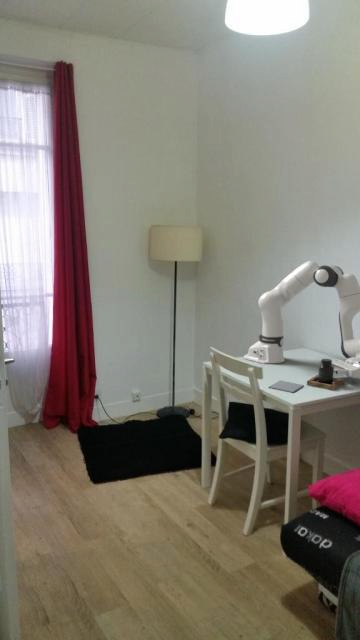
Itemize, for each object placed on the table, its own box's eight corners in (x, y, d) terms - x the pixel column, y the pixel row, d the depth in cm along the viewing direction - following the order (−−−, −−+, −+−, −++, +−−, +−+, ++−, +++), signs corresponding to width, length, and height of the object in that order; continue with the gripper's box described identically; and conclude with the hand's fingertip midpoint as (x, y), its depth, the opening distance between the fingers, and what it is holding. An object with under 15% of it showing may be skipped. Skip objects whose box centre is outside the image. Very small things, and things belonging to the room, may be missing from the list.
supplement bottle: (334, 386, 250) (336, 361, 248) (320, 386, 249) (322, 362, 247) (329, 381, 257) (331, 357, 254) (315, 382, 256) (317, 358, 254)
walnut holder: (306, 385, 252) (307, 381, 251) (317, 378, 262) (317, 374, 262) (333, 390, 244) (333, 386, 244) (343, 383, 254) (343, 379, 254)
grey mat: (268, 387, 248) (268, 386, 247) (280, 381, 257) (280, 380, 257) (292, 393, 241) (292, 391, 240) (303, 386, 250) (303, 385, 250)
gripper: (339, 355, 267) (316, 357, 261) (368, 365, 249) (345, 368, 243) (338, 367, 268) (316, 370, 263) (367, 378, 250) (344, 382, 244)
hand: (330, 369), depth 253 cm, fingers open, 8 cm apart
